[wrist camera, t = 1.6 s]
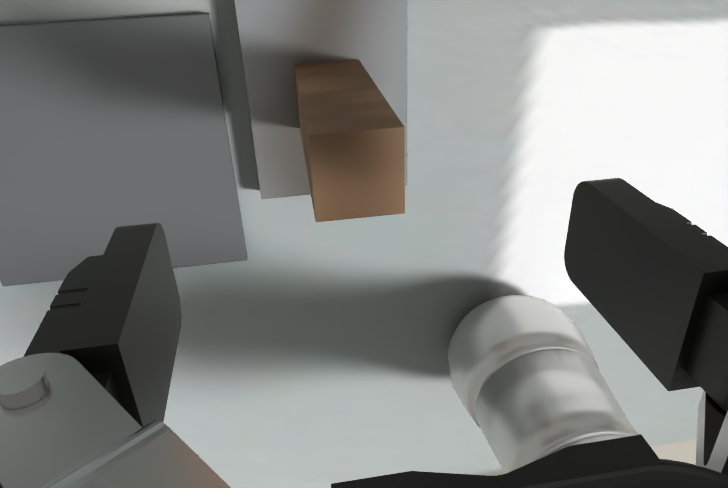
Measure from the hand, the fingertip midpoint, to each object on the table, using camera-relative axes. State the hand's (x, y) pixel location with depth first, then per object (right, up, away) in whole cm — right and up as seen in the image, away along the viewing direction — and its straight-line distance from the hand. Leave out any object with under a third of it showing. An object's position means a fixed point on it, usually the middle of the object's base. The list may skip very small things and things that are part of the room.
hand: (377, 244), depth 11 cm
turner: (-2, +6, +11) cm, 13 cm away
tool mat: (-10, +3, +11) cm, 16 cm away
